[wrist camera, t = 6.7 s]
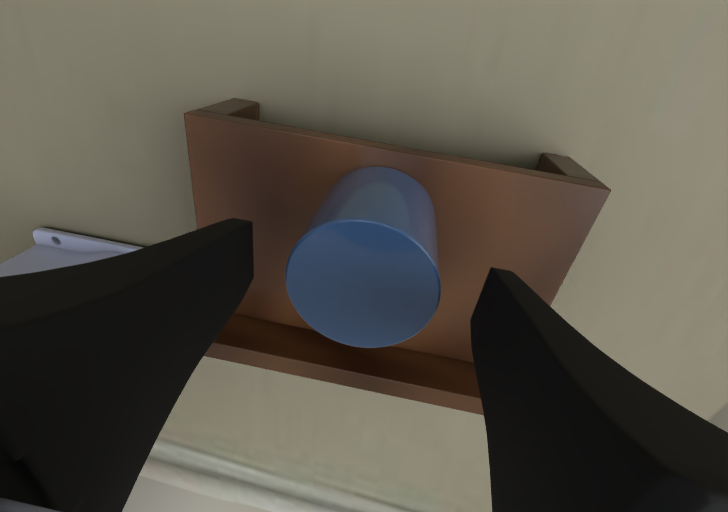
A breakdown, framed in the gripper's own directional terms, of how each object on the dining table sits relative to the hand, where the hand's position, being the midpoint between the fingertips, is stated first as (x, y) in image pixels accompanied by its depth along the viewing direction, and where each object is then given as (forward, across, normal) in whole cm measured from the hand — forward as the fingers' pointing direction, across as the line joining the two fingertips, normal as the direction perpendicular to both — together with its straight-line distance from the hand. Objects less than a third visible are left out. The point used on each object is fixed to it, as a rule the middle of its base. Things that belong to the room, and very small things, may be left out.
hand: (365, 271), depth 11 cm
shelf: (+8, 0, +2) cm, 8 cm away
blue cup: (+3, 0, 0) cm, 3 cm away
